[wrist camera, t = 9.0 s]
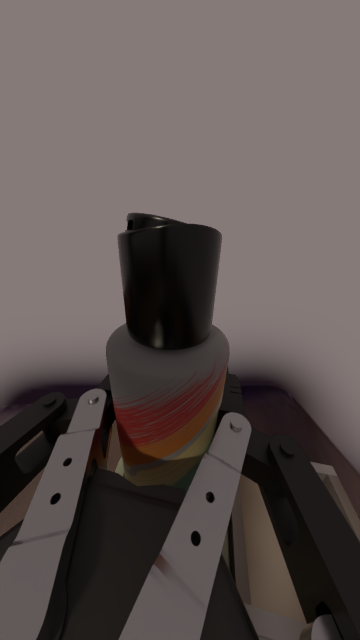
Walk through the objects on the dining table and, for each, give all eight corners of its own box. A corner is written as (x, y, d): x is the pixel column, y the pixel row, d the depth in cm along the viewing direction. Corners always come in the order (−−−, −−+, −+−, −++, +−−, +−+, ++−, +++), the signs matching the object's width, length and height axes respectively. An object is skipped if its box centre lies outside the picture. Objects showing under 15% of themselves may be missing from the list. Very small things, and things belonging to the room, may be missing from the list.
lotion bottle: (126, 474, 16) (87, 217, 8) (185, 450, 18) (202, 225, 10) (138, 575, 11) (68, 189, 3) (216, 527, 13) (298, 216, 5)
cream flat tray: (77, 588, 12) (67, 574, 11) (135, 440, 21) (133, 423, 20) (422, 711, 9) (461, 712, 8) (321, 480, 18) (333, 464, 17)
